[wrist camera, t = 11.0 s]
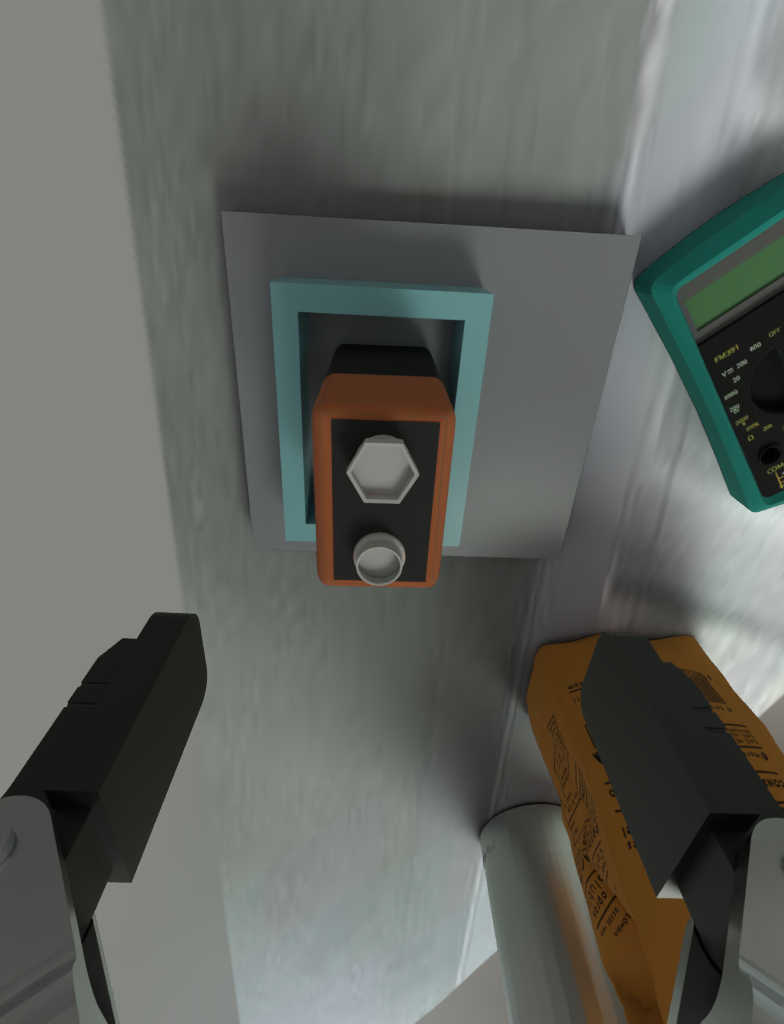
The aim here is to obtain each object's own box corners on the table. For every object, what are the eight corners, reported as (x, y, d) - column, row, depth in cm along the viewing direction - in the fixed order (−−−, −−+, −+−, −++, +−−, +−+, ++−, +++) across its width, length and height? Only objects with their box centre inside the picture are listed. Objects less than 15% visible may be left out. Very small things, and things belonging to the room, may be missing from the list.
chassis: (626, 235, 22) (672, 236, 18) (551, 544, 30) (573, 586, 26) (230, 212, 21) (201, 208, 18) (259, 535, 29) (242, 576, 26)
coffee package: (679, 725, 38) (984, 1233, 19) (513, 728, 38) (651, 1245, 19) (720, 623, 33) (1190, 1170, 14) (531, 627, 33) (741, 1185, 14)
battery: (432, 345, 23) (464, 417, 14) (421, 481, 26) (441, 610, 17) (334, 340, 22) (305, 411, 14) (336, 479, 26) (313, 607, 17)
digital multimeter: (729, 503, 29) (763, 529, 27) (623, 276, 23) (653, 282, 21) (865, 429, 27) (915, 451, 25) (786, 160, 21) (841, 151, 19)
